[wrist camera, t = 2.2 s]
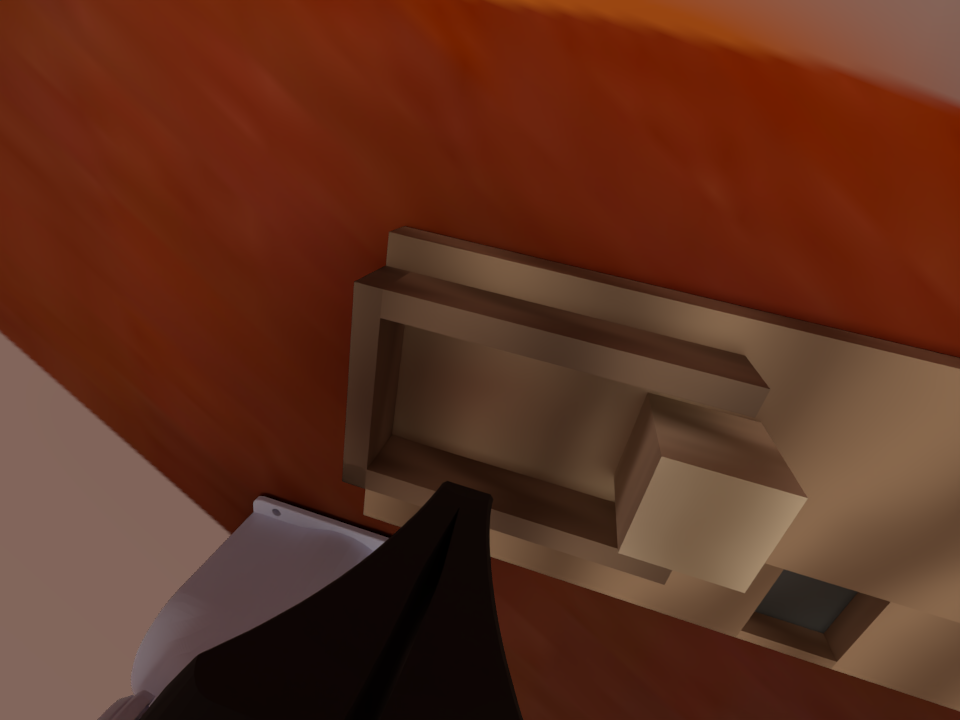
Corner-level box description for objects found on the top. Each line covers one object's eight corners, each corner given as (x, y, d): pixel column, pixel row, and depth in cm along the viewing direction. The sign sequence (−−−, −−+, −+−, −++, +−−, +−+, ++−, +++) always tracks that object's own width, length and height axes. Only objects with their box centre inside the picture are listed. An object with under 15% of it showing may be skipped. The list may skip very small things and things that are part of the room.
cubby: (369, 446, 21) (342, 481, 18) (385, 265, 17) (354, 282, 15) (656, 534, 19) (664, 585, 17) (745, 355, 15) (770, 389, 13)
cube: (613, 476, 18) (617, 553, 15) (647, 392, 17) (661, 456, 13) (715, 506, 18) (744, 593, 14) (761, 422, 16) (808, 498, 12)
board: (376, 494, 24) (341, 548, 21) (404, 226, 18) (361, 241, 14) (957, 681, 20) (1027, 783, 17) (1246, 425, 14) (1445, 508, 11)
